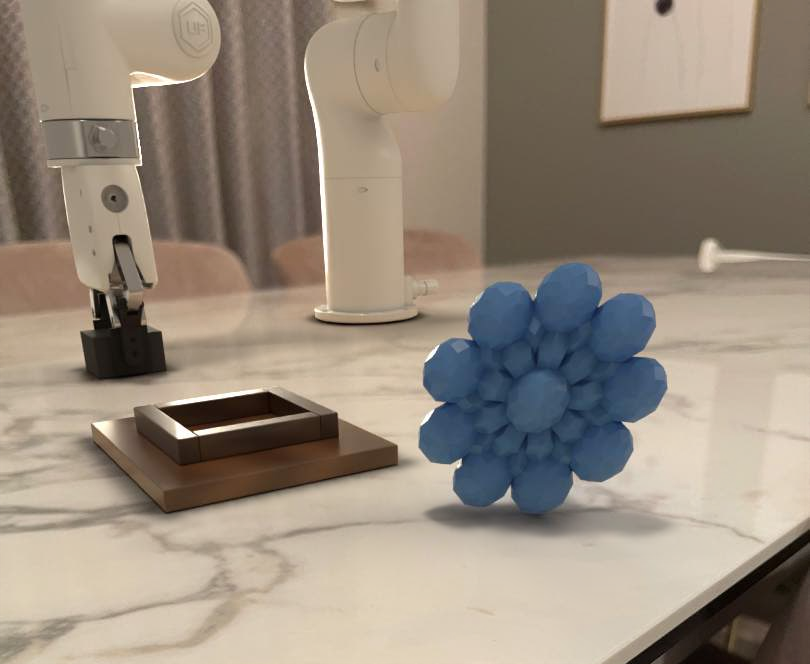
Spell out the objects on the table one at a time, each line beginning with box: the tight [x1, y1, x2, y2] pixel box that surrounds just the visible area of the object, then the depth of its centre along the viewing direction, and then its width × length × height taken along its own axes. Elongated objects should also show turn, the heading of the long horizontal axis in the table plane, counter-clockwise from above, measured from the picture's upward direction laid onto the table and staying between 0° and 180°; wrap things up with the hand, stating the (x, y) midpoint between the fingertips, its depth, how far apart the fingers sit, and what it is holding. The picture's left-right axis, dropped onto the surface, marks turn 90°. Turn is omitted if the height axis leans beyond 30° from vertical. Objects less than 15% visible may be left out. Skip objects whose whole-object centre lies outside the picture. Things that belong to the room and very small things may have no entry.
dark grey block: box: [79, 324, 168, 380], centre depth 76 cm, size 6×5×4 cm
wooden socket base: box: [90, 385, 399, 513], centre depth 53 cm, size 14×16×3 cm
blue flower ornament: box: [417, 262, 669, 515], centre depth 41 cm, size 12×7×12 cm, turn 82°
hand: (125, 365), depth 77 cm, fingers closed on dark grey block, 5 cm apart
